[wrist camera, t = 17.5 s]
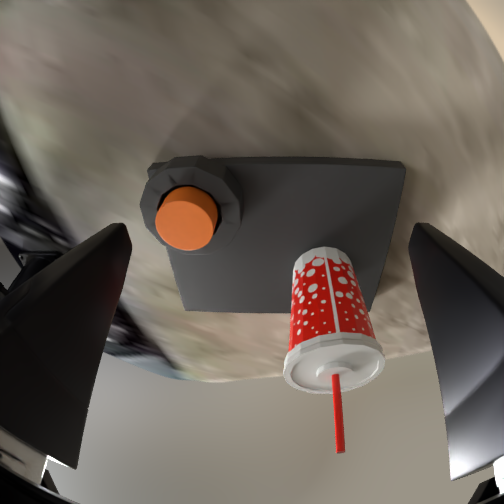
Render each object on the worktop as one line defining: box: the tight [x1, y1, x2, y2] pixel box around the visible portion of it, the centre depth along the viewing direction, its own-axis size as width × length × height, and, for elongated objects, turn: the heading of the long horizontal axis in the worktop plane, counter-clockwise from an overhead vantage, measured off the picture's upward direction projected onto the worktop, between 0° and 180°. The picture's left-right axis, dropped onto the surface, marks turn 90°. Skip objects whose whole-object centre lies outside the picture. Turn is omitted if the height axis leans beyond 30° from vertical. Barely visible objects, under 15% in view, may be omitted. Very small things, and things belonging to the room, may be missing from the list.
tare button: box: [155, 187, 218, 250], centre depth 19 cm, size 4×4×2 cm
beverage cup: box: [283, 247, 385, 453], centre depth 18 cm, size 6×6×14 cm
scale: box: [140, 156, 406, 313], centre depth 23 cm, size 17×15×3 cm
